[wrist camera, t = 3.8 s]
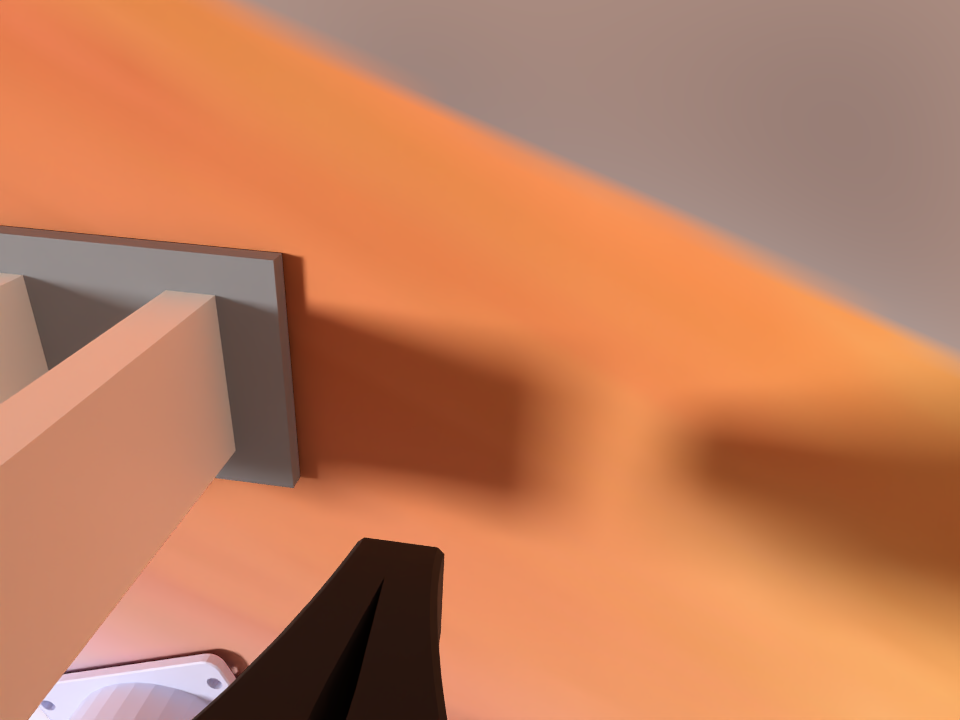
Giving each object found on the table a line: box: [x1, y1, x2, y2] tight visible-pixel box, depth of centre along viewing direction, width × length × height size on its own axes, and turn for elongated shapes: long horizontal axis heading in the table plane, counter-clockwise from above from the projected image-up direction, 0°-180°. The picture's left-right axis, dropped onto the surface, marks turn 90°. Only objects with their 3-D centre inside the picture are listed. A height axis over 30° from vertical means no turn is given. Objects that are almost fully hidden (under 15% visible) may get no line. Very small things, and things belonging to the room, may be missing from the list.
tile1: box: [0, 290, 236, 720], centre depth 13 cm, size 1×4×8 cm, turn 177°
